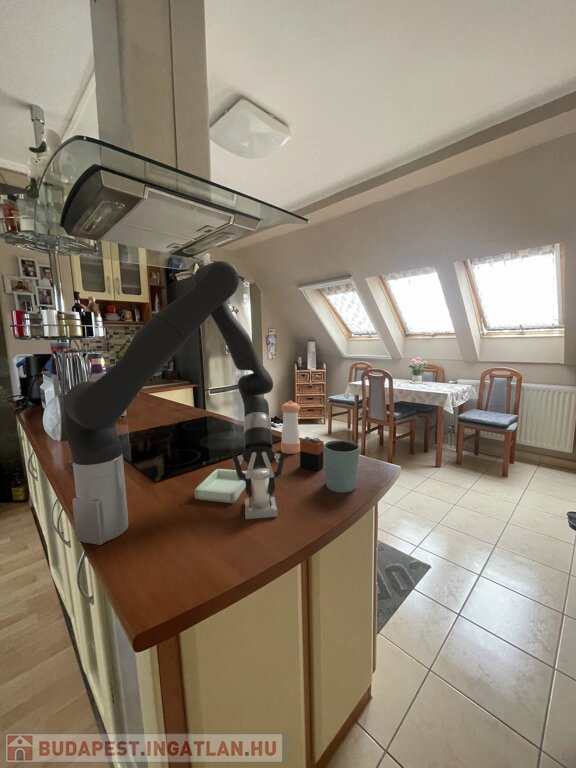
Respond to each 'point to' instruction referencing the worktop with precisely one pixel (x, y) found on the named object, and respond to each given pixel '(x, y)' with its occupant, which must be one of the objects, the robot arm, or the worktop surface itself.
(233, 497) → the tray
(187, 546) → the worktop surface
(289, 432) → the salt shaker
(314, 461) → the battery
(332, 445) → the teal cup
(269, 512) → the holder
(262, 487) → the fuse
